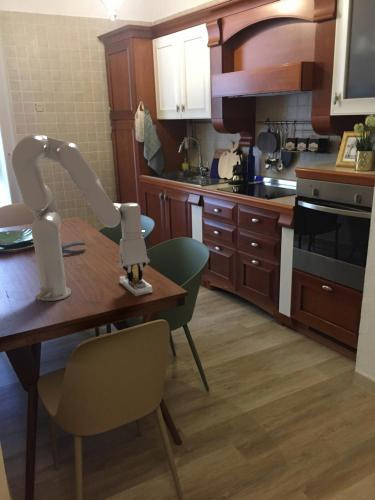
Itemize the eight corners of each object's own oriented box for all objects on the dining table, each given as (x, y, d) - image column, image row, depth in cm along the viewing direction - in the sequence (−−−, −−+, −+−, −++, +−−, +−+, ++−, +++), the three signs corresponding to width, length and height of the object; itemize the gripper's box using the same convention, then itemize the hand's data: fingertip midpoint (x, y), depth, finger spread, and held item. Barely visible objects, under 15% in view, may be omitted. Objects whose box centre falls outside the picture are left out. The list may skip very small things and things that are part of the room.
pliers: (45, 258, 215) (44, 246, 214) (45, 257, 217) (43, 245, 216) (86, 252, 223) (85, 241, 221) (85, 251, 224) (84, 240, 223)
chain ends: (152, 292, 169) (151, 283, 168) (135, 296, 166) (134, 287, 165) (135, 279, 183) (135, 271, 182) (120, 282, 180) (119, 274, 179)
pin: (138, 284, 172) (136, 265, 170) (129, 283, 173) (128, 264, 170) (140, 281, 175) (139, 262, 173) (132, 280, 176) (131, 262, 173)
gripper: (147, 230, 175) (150, 273, 180) (108, 236, 168) (112, 281, 173) (155, 234, 169) (157, 278, 174) (115, 240, 161) (118, 287, 167)
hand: (135, 279), depth 173 cm, fingers closed on pin, 3 cm apart
